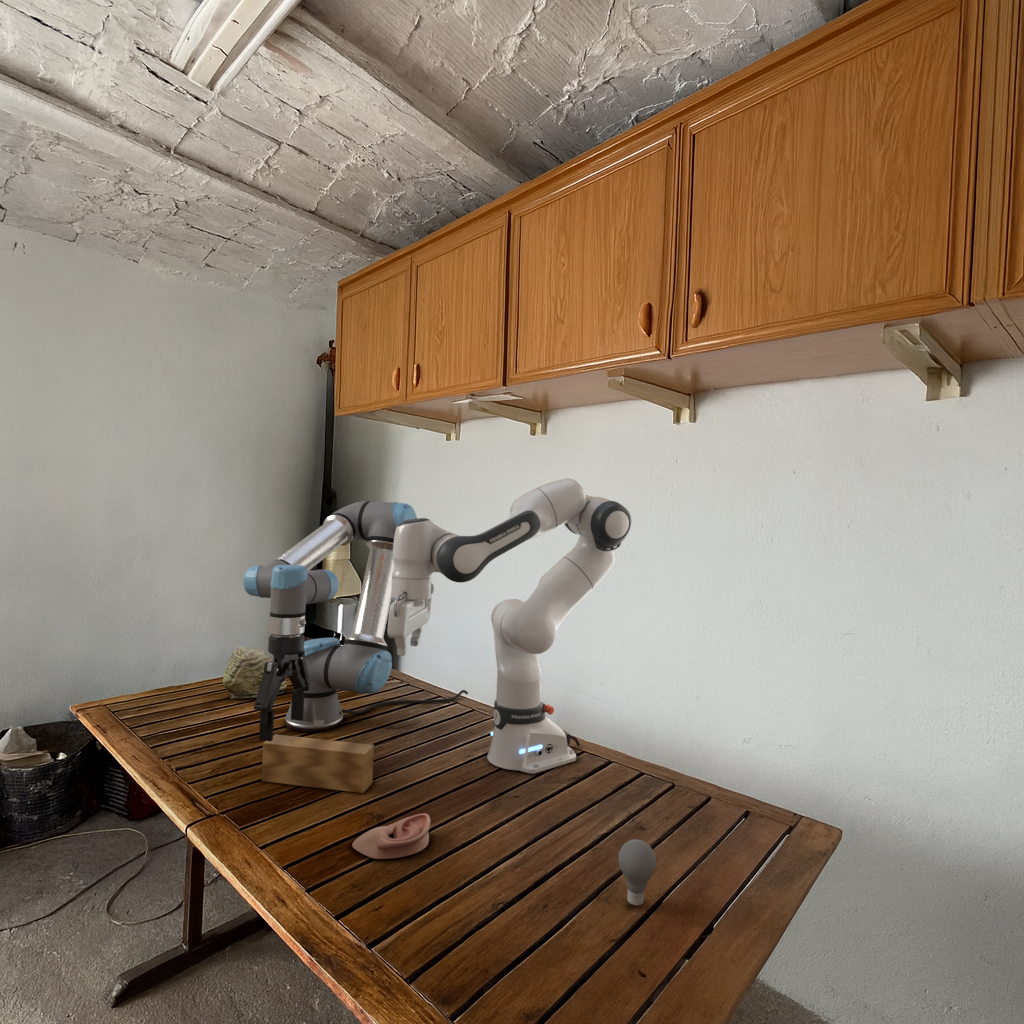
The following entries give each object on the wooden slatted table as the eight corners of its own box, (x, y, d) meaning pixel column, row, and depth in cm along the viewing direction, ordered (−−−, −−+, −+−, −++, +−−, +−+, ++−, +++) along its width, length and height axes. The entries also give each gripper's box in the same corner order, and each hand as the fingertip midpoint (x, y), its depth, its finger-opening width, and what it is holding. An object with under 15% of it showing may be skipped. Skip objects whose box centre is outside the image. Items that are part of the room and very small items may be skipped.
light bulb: (612, 891, 105) (615, 832, 105) (647, 891, 106) (650, 832, 105) (621, 915, 99) (624, 852, 99) (659, 914, 100) (662, 852, 99)
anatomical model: (345, 832, 112) (372, 802, 124) (344, 854, 113) (371, 822, 124) (415, 843, 110) (436, 812, 121) (414, 866, 110) (436, 832, 121)
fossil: (218, 695, 195) (220, 647, 195) (278, 685, 208) (279, 640, 207) (228, 703, 189) (230, 653, 188) (289, 692, 201) (290, 645, 201)
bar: (261, 781, 140) (263, 742, 140) (274, 771, 145) (275, 734, 145) (363, 793, 136) (364, 754, 136) (372, 782, 142) (374, 744, 141)
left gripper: (273, 647, 128) (268, 751, 128) (327, 626, 153) (322, 713, 153) (238, 644, 129) (234, 748, 130) (298, 623, 154) (293, 710, 154)
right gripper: (410, 597, 133) (407, 662, 133) (436, 584, 153) (434, 641, 153) (381, 595, 134) (378, 660, 134) (411, 583, 154) (408, 639, 154)
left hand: (282, 729), depth 141 cm, fingers open, 13 cm apart
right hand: (408, 650), depth 144 cm, fingers open, 8 cm apart
